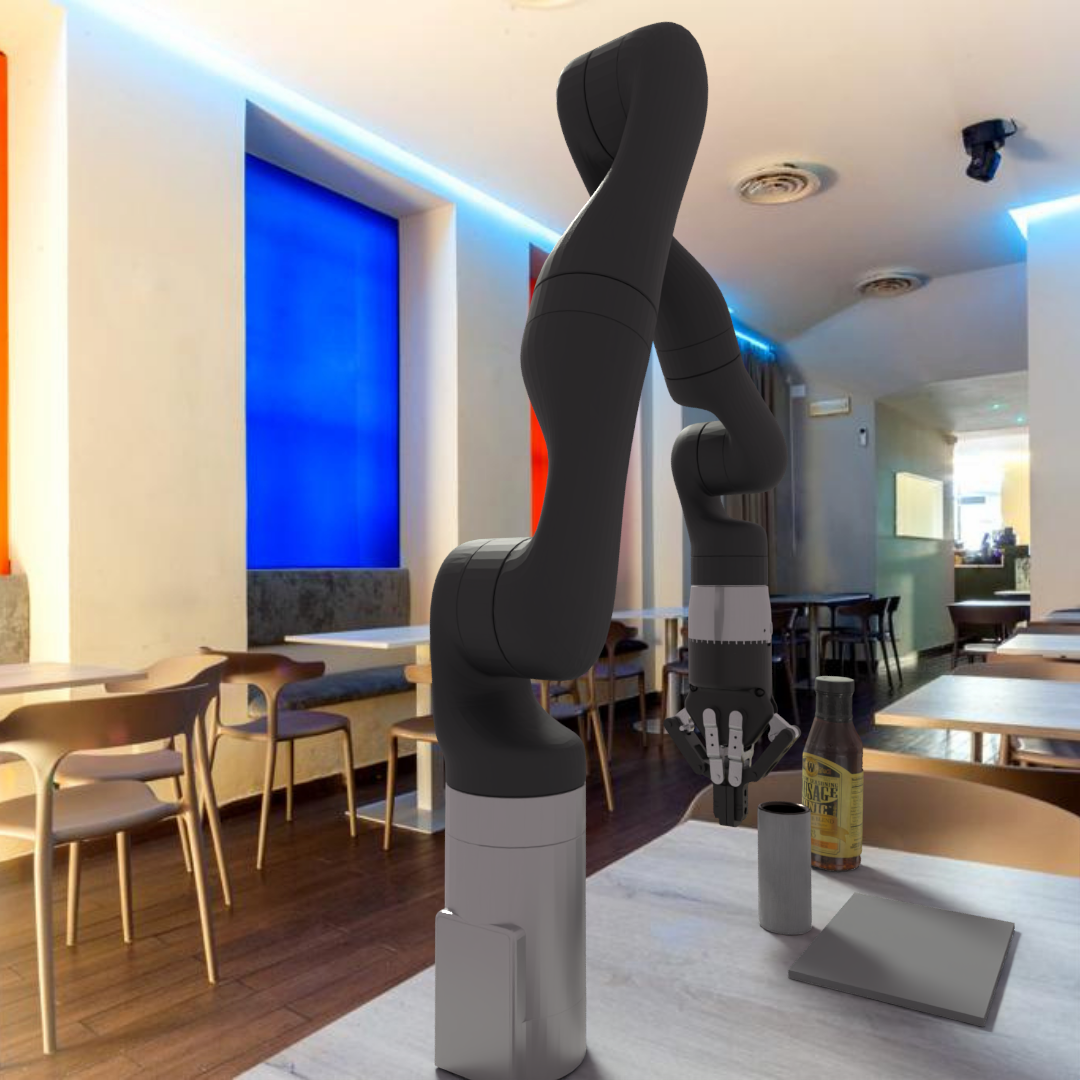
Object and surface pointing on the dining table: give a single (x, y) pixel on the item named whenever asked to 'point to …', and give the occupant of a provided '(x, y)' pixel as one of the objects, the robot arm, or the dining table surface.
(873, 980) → the mat
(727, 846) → the dining table surface
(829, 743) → the sauce bottle
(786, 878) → the grey hollow cylinder
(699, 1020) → the dining table surface
